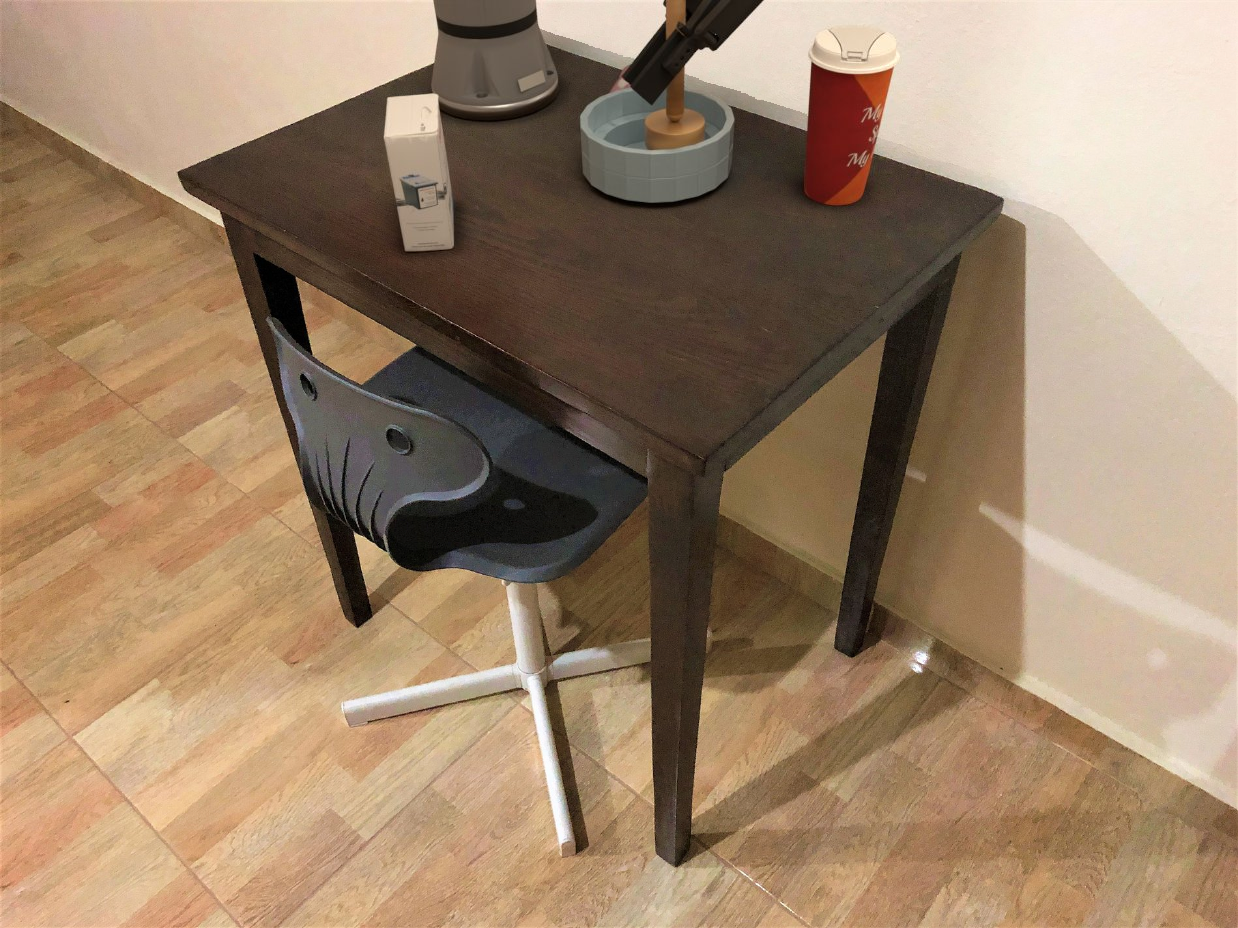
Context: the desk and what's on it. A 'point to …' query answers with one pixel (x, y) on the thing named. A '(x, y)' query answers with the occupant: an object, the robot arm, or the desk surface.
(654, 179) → the bowl
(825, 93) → the coffee cup
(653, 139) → the wooden paper towel holder
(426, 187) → the ink box
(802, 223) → the desk surface
